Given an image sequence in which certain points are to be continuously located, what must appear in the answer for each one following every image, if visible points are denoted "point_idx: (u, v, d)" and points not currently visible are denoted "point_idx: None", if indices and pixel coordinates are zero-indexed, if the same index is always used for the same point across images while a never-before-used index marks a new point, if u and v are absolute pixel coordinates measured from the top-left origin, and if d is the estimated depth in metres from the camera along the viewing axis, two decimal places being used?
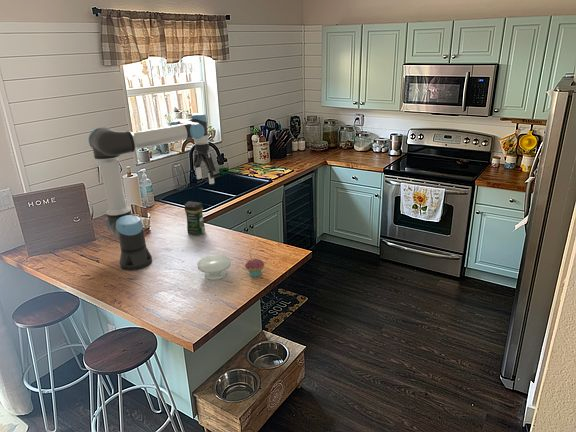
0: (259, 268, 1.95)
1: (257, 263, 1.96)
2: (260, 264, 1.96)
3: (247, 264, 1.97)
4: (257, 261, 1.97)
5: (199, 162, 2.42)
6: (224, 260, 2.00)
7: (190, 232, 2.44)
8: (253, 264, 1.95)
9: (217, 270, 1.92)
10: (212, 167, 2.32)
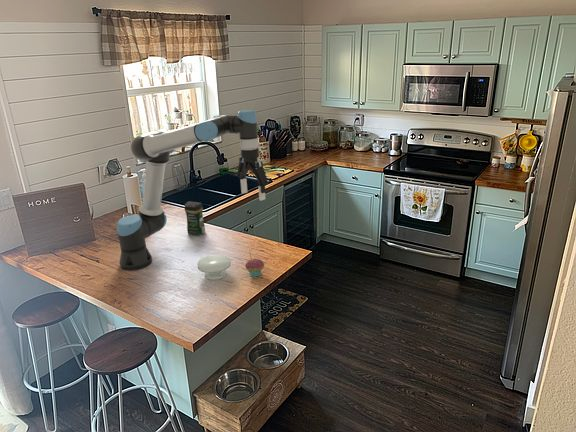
0: (259, 268, 1.95)
1: (257, 263, 1.96)
2: (260, 264, 1.96)
3: (247, 264, 1.97)
4: (257, 261, 1.97)
5: (245, 172, 1.90)
6: (224, 260, 2.00)
7: (190, 232, 2.44)
8: (253, 264, 1.95)
9: (217, 270, 1.92)
10: (264, 179, 1.80)
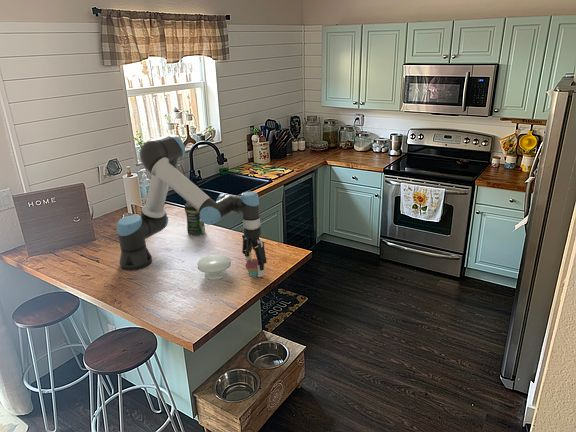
0: None
1: (257, 263, 1.96)
2: None
3: (247, 264, 1.97)
4: (257, 261, 1.97)
5: (249, 249, 1.99)
6: (224, 260, 2.00)
7: (190, 232, 2.44)
8: (253, 264, 1.95)
9: (217, 270, 1.92)
10: (263, 259, 1.91)
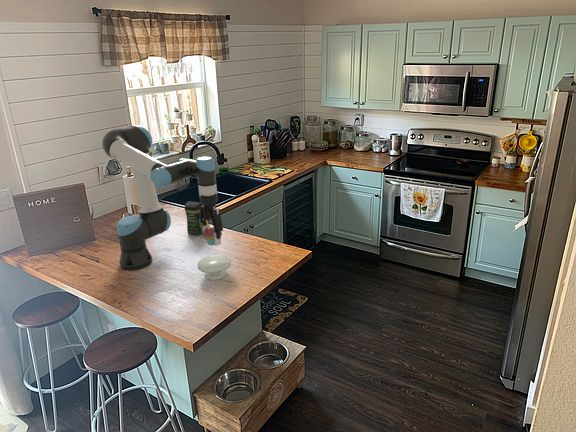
0: None
1: None
2: None
3: (204, 232, 1.92)
4: None
5: (207, 217, 1.94)
6: (224, 260, 2.00)
7: (190, 232, 2.44)
8: (210, 232, 1.91)
9: (217, 270, 1.92)
10: (219, 226, 1.86)
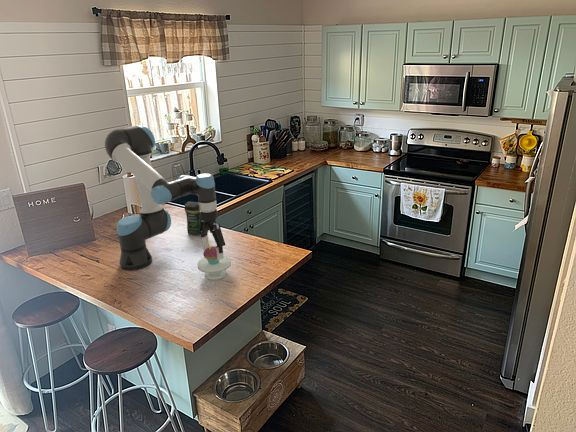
0: None
1: (214, 251, 1.94)
2: None
3: (205, 252, 1.95)
4: (215, 249, 1.95)
5: (206, 231, 1.97)
6: (224, 260, 2.00)
7: (190, 232, 2.44)
8: (211, 252, 1.93)
9: (217, 270, 1.92)
10: (221, 241, 1.87)
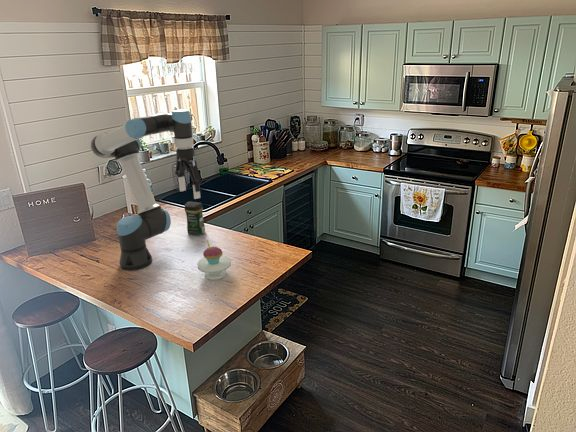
0: (217, 256, 1.94)
1: (214, 250, 1.95)
2: (218, 252, 1.95)
3: (205, 252, 1.95)
4: (215, 249, 1.96)
5: (182, 170, 1.94)
6: (224, 260, 2.00)
7: (190, 232, 2.44)
8: (211, 252, 1.94)
9: (217, 270, 1.92)
10: (197, 178, 1.83)
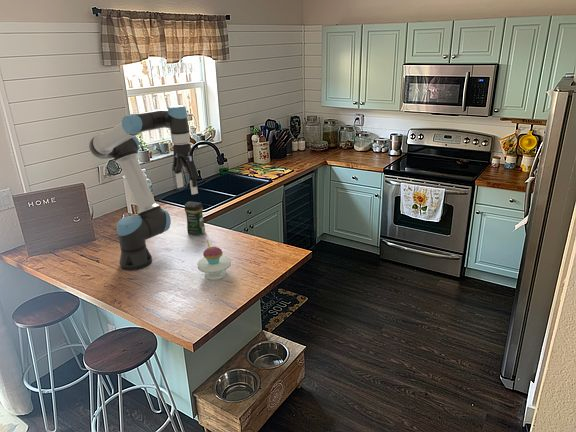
0: (217, 256, 1.94)
1: (214, 250, 1.95)
2: (218, 252, 1.95)
3: (205, 252, 1.95)
4: (215, 249, 1.96)
5: (179, 167, 1.94)
6: (224, 260, 2.00)
7: (190, 232, 2.44)
8: (210, 252, 1.94)
9: (217, 270, 1.92)
10: (194, 173, 1.84)
